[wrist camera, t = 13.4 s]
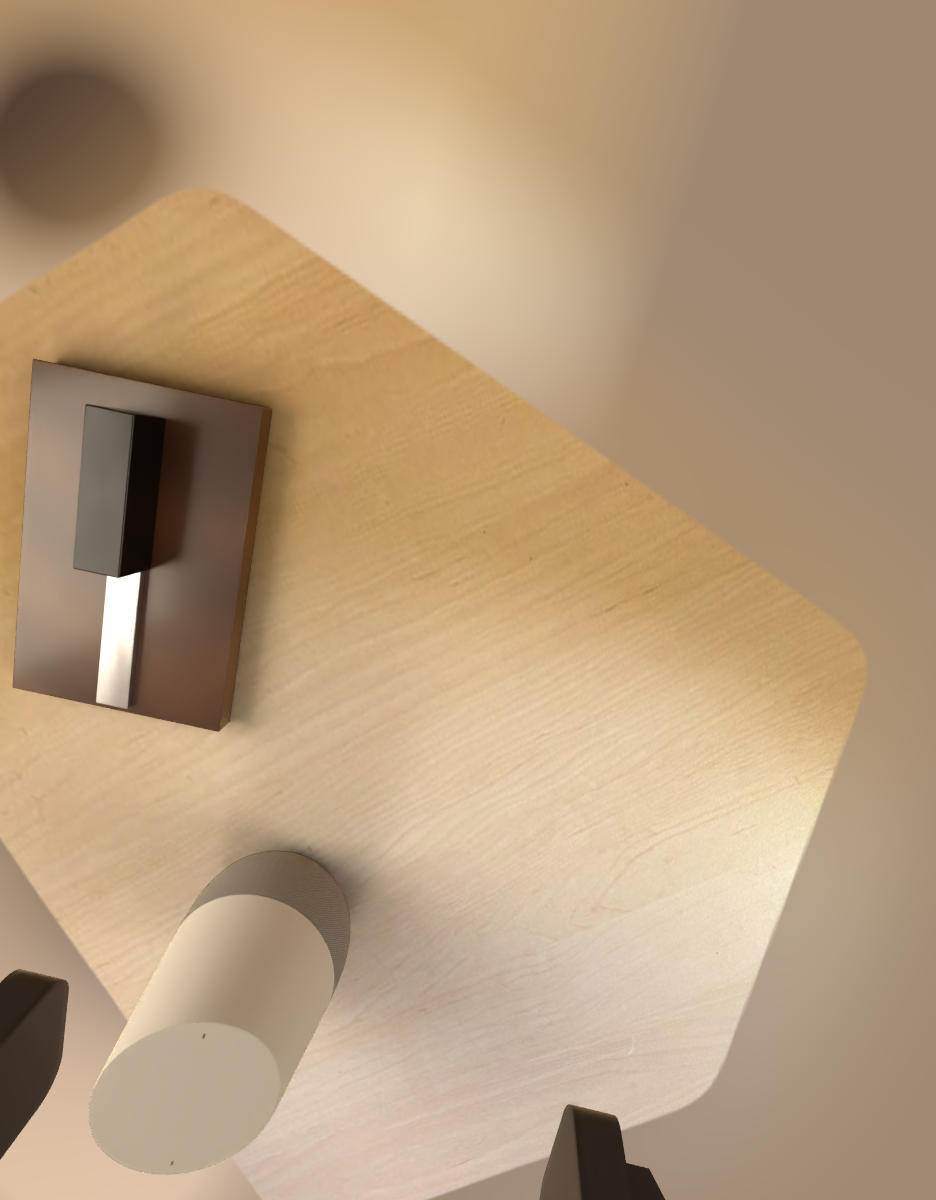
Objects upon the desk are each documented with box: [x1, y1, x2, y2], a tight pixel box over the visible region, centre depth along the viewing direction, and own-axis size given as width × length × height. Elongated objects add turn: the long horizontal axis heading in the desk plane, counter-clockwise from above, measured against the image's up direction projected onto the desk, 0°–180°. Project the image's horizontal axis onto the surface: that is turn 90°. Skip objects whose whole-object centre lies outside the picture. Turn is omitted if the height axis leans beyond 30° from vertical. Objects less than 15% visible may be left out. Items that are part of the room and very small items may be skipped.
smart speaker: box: [88, 851, 350, 1174], centre depth 33 cm, size 10×9×14 cm
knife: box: [73, 404, 166, 709], centre depth 34 cm, size 16×2×3 cm, turn 168°
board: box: [13, 359, 272, 732], centre depth 36 cm, size 18×12×2 cm, turn 168°
